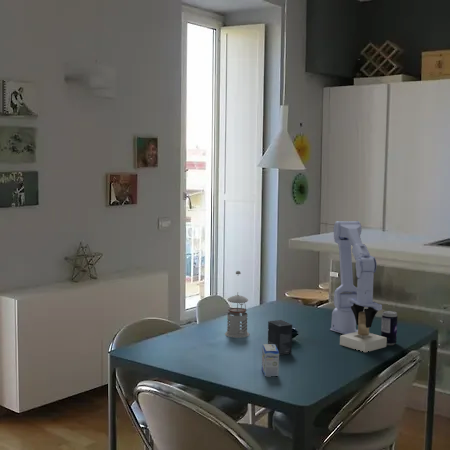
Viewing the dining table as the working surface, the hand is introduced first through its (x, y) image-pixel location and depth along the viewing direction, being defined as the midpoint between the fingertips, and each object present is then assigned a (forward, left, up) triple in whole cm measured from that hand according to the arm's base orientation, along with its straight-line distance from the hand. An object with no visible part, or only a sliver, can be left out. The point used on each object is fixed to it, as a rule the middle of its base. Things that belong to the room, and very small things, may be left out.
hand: (363, 325), depth 258 cm
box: (-13, -30, -8) cm, 34 cm away
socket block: (0, 0, -8) cm, 8 cm away
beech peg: (0, 0, -3) cm, 3 cm away
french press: (-40, -27, -8) cm, 49 cm away
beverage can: (+4, +10, -8) cm, 13 cm away
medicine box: (+3, -49, -8) cm, 50 cm away
